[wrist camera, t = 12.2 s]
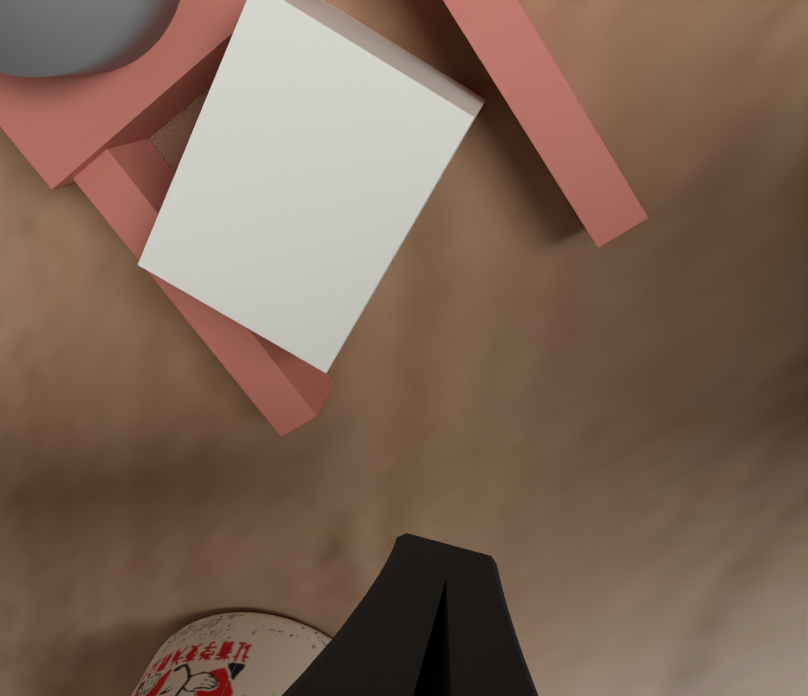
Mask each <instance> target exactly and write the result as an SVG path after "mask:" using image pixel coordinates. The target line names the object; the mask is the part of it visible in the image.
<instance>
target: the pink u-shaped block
mask: <svg viewBox="0 0 808 696" xmlns="http://www.w3.org/2000/svg"><path fill="white" fill-rule="evenodd" d="M246 1H247V0H0V127H1V128H2V129H3V131H4V132H5V133H6V134H7V135H8V137H9V138H10V139H11V140H12V142H13V143H14V144H15V145H16V146H17V148H18V149H19V150H20V151H21V153H22V154H23V155H24V156H25V157H26V159H27V160H28V161H29V162H30V164H31V165H32V166H33V167H34V168H35V170H36V171H37V172H38V173H39V175H40V176H41V177H42V178H43V179H44V181H45V182H46V183H47V184H48V186H49V187H50V188H51V189H52V190H53V189H56V188H59V187H62V186H66V185H69V184H72V183H75V182H76V183H77V185H78V186H79V187H80V188H81V190H82V191H83V192H84V193H85V195H86V196H87V197H88V198H89V200H90V201H91V202H92V203H93V205H94V206H95V207H96V208H97V209H98V211H99V212H100V213H101V214H102V216H103V217H104V218H105V219H106V221H107V222H108V223H109V224H110V226H111V227H112V228H113V229H114V231H115V232H116V233H117V234H118V235H119V237H120V238H121V239H122V240H123V242H124V243H125V244H126V245H127V247H128V248H129V249H130V250H131V252H132V253H133V254H134V255H135V257H136V258H137V259H138V260H140V258H141V256H142V253H143V251H144V248H145V246H146V243H147V241H148V239H149V236H150V234H151V231H152V229H153V226H154V224H155V222H156V219H157V217H158V214H159V212H160V209H161V207H162V205H163V202H164V200H165V197H166V195H167V192H168V190H169V188H170V185H171V183H172V180H173V178H174V175H175V174H174V172H173V171H172V170H171V168H170V167H169V166H168V164H167V163H166V162H165V161H164V159H163V158H162V157H161V155H160V154H159V153H158V151H157V150H156V149H155V147H154V146H153V145H152V144H151V142H150V141H149V140H148V138H149V137H151V136H152V135H153V134H154V133H155V132H156V131H158V130H159V129H160V128H161V127H162V126H164V125H165V124H166V123H167V122H168V121H169V120H171V119H172V118H173V117H174V116H175V115H177V114H178V113H179V112H180V111H181V110H182V109H184V108H185V107H186V106H187V105H188V104H190V103H191V102H192V101H193V100H194V99H195V98H197V97H198V96H199V95H200V94H201V93H203V92H204V91H205V90H206V89H207V88H208V87H210V86H211V85H212V83H213V81H214V78H215V76H216V74H217V71H218V69H219V66H220V64H221V61H222V59H223V57H224V54H225V52H226V49H227V47H228V44H229V42H230V40H231V37H232V35H233V32H234V30H235V27H236V25H237V23H238V20H239V18H240V15H241V13H242V10H243V8H244V6H245V3H246ZM443 1H444V3H445V4H446V6H447V7H448V9H449V11H450V12H451V14H452V15H453V17H454V19H455V20H456V22H457V23H458V25H459V27H460V28H461V30H462V31H463V33H464V35H465V36H466V38H467V39H468V41H469V43H470V44H471V46H472V47H473V49H474V51H475V52H476V54H477V55H478V57H479V59H480V60H481V62H482V63H483V65H484V67H485V68H486V70H487V71H488V73H489V74H490V76H491V78H492V79H493V81H494V82H495V84H496V86H497V87H498V89H499V90H500V92H501V94H502V95H503V97H504V98H505V100H506V102H507V103H508V105H509V106H510V108H511V110H512V111H513V113H514V114H515V116H516V118H517V119H518V121H519V122H520V124H521V126H522V127H523V129H524V130H525V132H526V134H527V135H528V137H529V138H530V140H531V142H532V143H533V145H534V146H535V148H536V150H537V151H538V153H539V154H540V156H541V158H542V159H543V161H544V162H545V164H546V166H547V167H548V169H549V170H550V172H551V174H552V175H553V177H554V178H555V180H556V182H557V183H558V185H559V186H560V188H561V190H562V191H563V193H564V194H565V196H566V198H567V199H568V201H569V202H570V204H571V206H572V207H573V209H574V210H575V212H576V214H577V215H578V217H579V218H580V220H581V222H582V223H583V225H584V226H585V228H586V230H587V231H588V233H589V234H590V236H591V238H592V239H593V241H594V242H595V244H596V245H597V247H598V248H599V247H600V246H602V245H604V244H605V243H607V242H609V241H611V240H612V239H614V238H616V237H617V236H619V235H621V234H622V233H624V232H626V231H627V230H629V229H631V228H632V227H634V226H636V225H637V224H639V223H641V222H642V221H644V220H646V219H647V218H648V216H647V214H646V213H645V211H644V209H643V208H642V206H641V204H640V203H639V201H638V199H637V198H636V196H635V194H634V193H633V191H632V189H631V188H630V186H629V184H628V183H627V181H626V179H625V178H624V176H623V174H622V173H621V171H620V169H619V168H618V166H617V164H616V163H615V161H614V159H613V158H612V156H611V154H610V153H609V151H608V149H607V148H606V146H605V144H604V143H603V141H602V139H601V138H600V136H599V134H598V133H597V131H596V129H595V128H594V126H593V124H592V123H591V121H590V119H589V118H588V116H587V114H586V113H585V111H584V109H583V108H582V106H581V104H580V103H579V101H578V99H577V98H576V96H575V94H574V93H573V91H572V89H571V88H570V86H569V84H568V83H567V81H566V79H565V78H564V76H563V74H562V73H561V71H560V69H559V68H558V66H557V64H556V63H555V61H554V59H553V58H552V56H551V54H550V53H549V51H548V49H547V48H546V46H545V44H544V43H543V41H542V39H541V38H540V36H539V34H538V32H537V31H536V29H535V27H534V26H533V24H532V22H531V21H530V19H529V17H528V16H527V14H526V12H525V11H524V9H523V7H522V6H521V4H520V2H519V1H518V0H443ZM148 273H149V274H150V275H151V276H152V278H153V279H154V280H155V281H156V283H157V284H158V285H159V286H160V288H161V289H162V290H163V291H164V293H165V294H166V295H167V296H168V297H169V299H170V300H171V301H172V302H173V304H174V305H175V306H176V307H177V309H178V310H179V311H180V312H181V314H182V315H183V316H184V317H185V319H186V320H187V321H188V322H189V324H190V325H191V326H192V327H193V328H194V330H195V331H196V332H197V333H198V335H199V336H200V337H201V338H202V340H203V341H204V342H205V343H206V345H207V346H208V347H209V348H210V350H211V351H212V352H213V353H214V354H215V356H216V357H217V358H218V359H219V361H220V362H221V363H222V364H223V366H224V367H225V368H226V369H227V371H228V372H229V373H230V374H231V376H232V377H233V378H234V379H235V381H236V382H237V383H238V384H239V385H240V387H241V388H242V389H243V390H244V392H245V393H246V394H247V395H248V397H249V398H250V399H251V400H252V402H253V403H254V404H255V405H256V407H257V408H258V409H259V410H260V412H261V413H262V414H263V415H264V416H265V418H266V419H267V420H268V421H269V423H270V424H271V425H272V426H273V428H274V429H275V430H276V431H277V433H278V434H279V435H280V436H281V437H283V436H284V435H286V434H288V433H289V432H291V431H293V430H294V429H296V428H298V427H299V426H301V425H303V424H304V423H306V422H308V421H309V420H311V419H313V418H314V417H316V416H317V415H318V413H319V411H320V409H321V408H322V406H323V404H324V402H325V400H326V399H327V397H328V395H329V393H330V391H331V390H332V388H333V386H334V384H335V382H334V381H333V380H332V378H331V377H330V376H329V374H328V373H325V372H323V371H321V370H319V369H318V368H316V367H314V366H312V365H311V364H309V363H307V362H305V361H304V360H302V359H300V358H299V357H297V356H295V355H293V354H292V353H290V352H288V351H286V350H285V349H283V348H281V347H279V346H278V345H276V344H274V343H272V342H271V341H269V340H267V339H266V338H264V337H262V336H260V335H259V334H257V333H255V332H253V331H252V330H250V329H248V328H246V327H245V326H243V325H241V324H239V323H238V322H236V321H234V320H233V319H231V318H229V317H227V316H226V315H224V314H222V313H220V312H219V311H217V310H215V309H213V308H212V307H210V306H208V305H206V304H205V303H203V302H201V301H200V300H198V299H196V298H194V297H193V296H191V295H189V294H187V293H186V292H184V291H182V290H180V289H179V288H177V287H175V286H173V285H172V284H170V283H168V282H167V281H165V280H163V279H161V278H160V277H158V276H156V275H154V274H153V273H151V272H149V271H148Z"/></svg>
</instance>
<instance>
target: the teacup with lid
mask: <svg viewBox="0 0 808 696" xmlns="http://www.w3.org/2000/svg"><path fill="white" fill-rule="evenodd" d="M331 640H332V639H331V638H329V637H328V636H326V635H324V634H323V633H321V632H319V631H317V630H315V629H313V628H311V627H309V626H306V625H304V624H301V623H299V622H296V621H293V620H290V619H287V618H283V617H279V616H275V615H269V614H263V613H253V612H234V613H224V614H219V615H213V616H210V617H206V618H203V619H200V620H197V621H195V622H193V623H191V624H189V625H187V626H185V627H183V628H182V629H180V630H179V631H177V632H176V633H174V634H173V635H172V636H171V637H170V638H169V639H167V641H166V642H165V643H164V644H163V645H162V646H161V647H160V649H159V650H158V652H157V653H156V655H155V656H154V658H153V659H152V661H151V663H150V664H149V666H148V668H147V669H146V671H145V673H144V674H143V676H142V678H141V679H140V681H139V683H138V684H137V686H136V688H135V689H134V691H133V693H132V694H131V696H281V695H282V694H283V693H284V692H285V691H286V690H287V689H288V688H289V687H290V686H291V685H292V684H293V683H294V682H295V681H296V680H297V679H298V678H299V676H300V675H301V674H302V673H303V672H304V671H305V670H306V669H307V667H308V666H309V665H310V664H311V663H312V662H313V660H314V659H315V658H316V657H317V656H318V655H319V654H320V652H321V651H322V650H323V649H324V648H325V647H326V645H327V644H328V643H329V642H330V641H331Z"/></svg>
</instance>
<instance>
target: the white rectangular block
mask: <svg viewBox="0 0 808 696" xmlns="http://www.w3.org/2000/svg"><path fill="white" fill-rule="evenodd" d="M485 101H486V99H484V98H482V97H481V96H479V95H478V94H476V93H474V92H473V91H471V90H469V89H468V88H466V87H465V86H463V85H461V84H460V83H458V82H456V81H455V80H453V79H452V78H450V77H448V76H447V75H445V74H443V73H442V72H440V71H439V70H437V69H435V68H434V67H432V66H430V65H429V64H427V63H426V62H424V61H422V60H421V59H419V58H417V57H416V56H414V55H413V54H411V53H409V52H408V51H406V50H404V49H403V48H401V47H400V46H398V45H396V44H395V43H393V42H391V41H390V40H388V39H387V38H385V37H383V36H382V35H380V34H378V33H377V32H375V31H374V30H372V29H370V28H369V27H367V26H365V25H364V24H362V23H361V22H359V21H357V20H356V19H354V18H352V17H351V16H349V15H348V14H346V13H344V12H343V11H341V10H339V9H338V8H336V7H335V6H333V5H331V4H330V3H328V2H327V1H325V0H247V1H246V3H245V6H244V8H243V10H242V13H241V15H240V18H239V20H238V23H237V25H236V27H235V30H234V32H233V35H232V37H231V40H230V42H229V44H228V47H227V49H226V52H225V54H224V57H223V59H222V61H221V64H220V66H219V69H218V71H217V74H216V76H215V78H214V81H213V83H212V86H211V88H210V91H209V93H208V95H207V98H206V100H205V103H204V105H203V108H202V110H201V112H200V115H199V117H198V120H197V122H196V125H195V127H194V129H193V132H192V134H191V137H190V139H189V141H188V144H187V146H186V149H185V151H184V154H183V156H182V158H181V161H180V163H179V166H178V168H177V171H176V173H175V175H174V178H173V180H172V183H171V185H170V188H169V190H168V192H167V195H166V197H165V200H164V202H163V205H162V207H161V209H160V212H159V214H158V217H157V219H156V222H155V224H154V226H153V229H152V231H151V234H150V236H149V239H148V241H147V243H146V246H145V248H144V251H143V253H142V256H141V258H140V260H139V263H138V265H139V266H140V267H142V268H144V269H146V270H147V271H149V272H151V273H153V274H154V275H156V276H158V277H160V278H161V279H163V280H165V281H167V282H168V283H170V284H172V285H173V286H175V287H177V288H179V289H180V290H182V291H184V292H186V293H187V294H189V295H191V296H193V297H194V298H196V299H198V300H200V301H201V302H203V303H205V304H206V305H208V306H210V307H212V308H213V309H215V310H217V311H219V312H220V313H222V314H224V315H226V316H227V317H229V318H231V319H233V320H234V321H236V322H238V323H239V324H241V325H243V326H245V327H246V328H248V329H250V330H252V331H253V332H255V333H257V334H259V335H260V336H262V337H264V338H266V339H267V340H269V341H271V342H272V343H274V344H276V345H278V346H279V347H281V348H283V349H285V350H286V351H288V352H290V353H292V354H293V355H295V356H297V357H299V358H300V359H302V360H304V361H305V362H307V363H309V364H311V365H312V366H314V367H316V368H318V369H319V370H321V371H323V372H325V373H327V371H328V370H329V368H330V366H331V365H332V363H333V361H334V360H335V358H336V356H337V354H338V353H339V351H340V349H341V348H342V346H343V344H344V343H345V341H346V339H347V338H348V336H349V334H350V333H351V331H352V329H353V328H354V326H355V324H356V323H357V321H358V319H359V318H360V316H361V314H362V313H363V311H364V309H365V308H366V306H367V304H368V302H369V301H370V299H371V297H372V296H373V294H374V292H375V290H376V289H377V287H378V285H379V284H380V282H381V280H382V278H383V277H384V275H385V273H386V272H387V270H388V268H389V266H390V265H391V263H392V261H393V259H394V258H395V256H396V254H397V253H398V251H399V249H400V247H401V246H402V244H403V242H404V241H405V239H406V237H407V235H408V234H409V232H410V230H411V228H412V227H413V225H414V223H415V222H416V220H417V218H418V216H419V215H420V213H421V211H422V210H423V208H424V206H425V204H426V203H427V201H428V199H429V197H430V196H431V194H432V192H433V191H434V189H435V187H436V185H437V184H438V182H439V180H440V179H441V177H442V175H443V173H444V172H445V170H446V168H447V166H448V165H449V163H450V161H451V160H452V158H453V156H454V154H455V153H456V151H457V149H458V148H459V146H460V144H461V142H462V141H463V139H464V137H465V135H466V134H467V132H468V130H469V129H470V127H471V125H472V123H473V122H474V120H475V118H476V117H477V115H478V113H479V111H480V110H481V108H482V106H483V104H484V103H485Z"/></svg>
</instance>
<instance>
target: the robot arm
mask: <svg viewBox="0 0 808 696" xmlns="http://www.w3.org/2000/svg"><path fill="white" fill-rule="evenodd" d="M281 696H538V694H537V691H536V689H535V686H534V683H533V681H532V678H531V675H530V673H529V670H528V667H527V665H526V662H525V659H524V657H523V654H522V651H521V648H520V645H519V642H518V639H517V636H516V633H515V630H514V627H513V624H512V621H511V617H510V614H509V611H508V608H507V604H506V601H505V597H504V593H503V590H502V586H501V582H500V577H499V573H498V568H497V564H496V563H495V561H494V559H493V558H492V556H489V555H485V554H482V553H478V552H474V551H471V550H467V549H463V548H460V547H456V546H452V545H448V544H445V543H441V542H437V541H434V540H430V539H426V538H422V537H419V536H415V535H411V534H408V533H406V534H404V535H402V536H399V537H397V539H396V542H395V545H394V547H393V550H392V552H391V554H390V556H389V558H388V560H387V562H386V564H385V565H384V567H383V569H382V571H381V572H380V574H379V575H378V577H377V579H376V580H375V582H374V583H373V585H372V586H371V588H370V589H369V591H368V592H367V594H366V595H365V597H364V598H363V599H362V601H361V602H360V603H359V605H358V606H357V607H356V609H355V610H354V611H353V613H352V614H351V615H350V617H349V618H348V619H347V621H346V622H345V623H344V625H343V626H342V627H341V629H340V630H339V631H338V632H337V634H336V635H335V636H334V637H333V639H332V640H331V641H330V642H329V643H328V644H327V645H326V647H325V648H324V649H323V650H322V651H321V652H320V654H319V655H318V656H317V657H316V658H315V659H314V660H313V662H312V663H311V664H310V665H309V666H308V667H307V669H306V670H305V671H304V672H303V673H302V674H301V675H300V676H299V678H298V679H297V680H296V681H295V682H294V683H293V684H292V685H291V686H290V687H289V688H288V689H287V690H286V691H285V692H284V693H283V694H282V695H281Z"/></svg>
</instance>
